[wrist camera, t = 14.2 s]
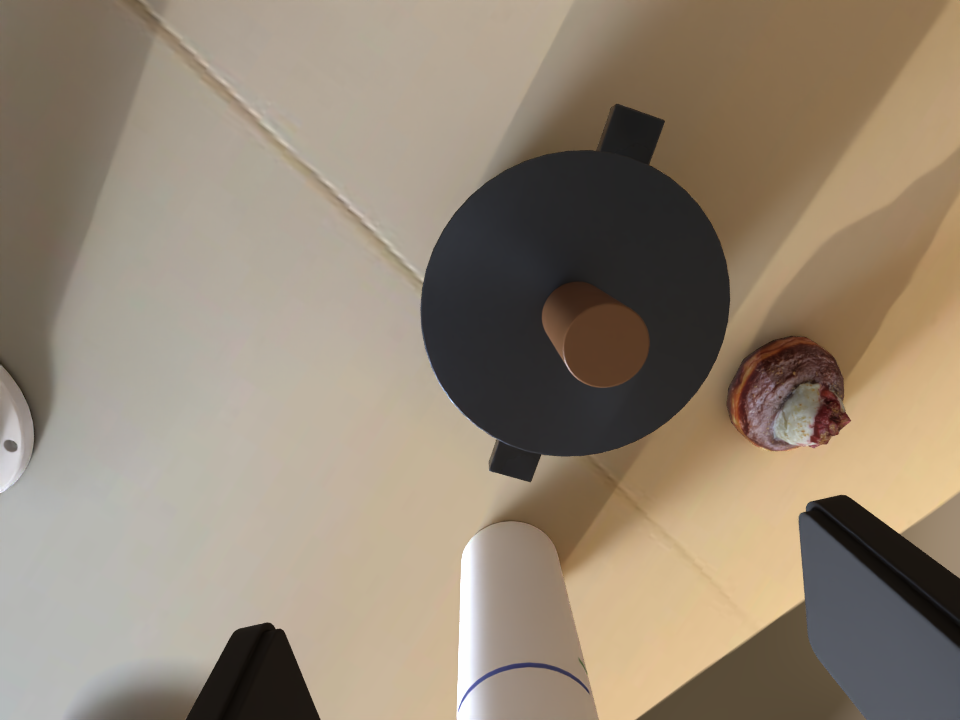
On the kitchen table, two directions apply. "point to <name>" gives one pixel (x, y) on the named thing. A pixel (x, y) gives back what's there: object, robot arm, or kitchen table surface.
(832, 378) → the pastry
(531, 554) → the cylindrical container
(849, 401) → the kitchen table surface
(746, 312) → the kitchen table surface
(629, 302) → the lid
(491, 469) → the pot
